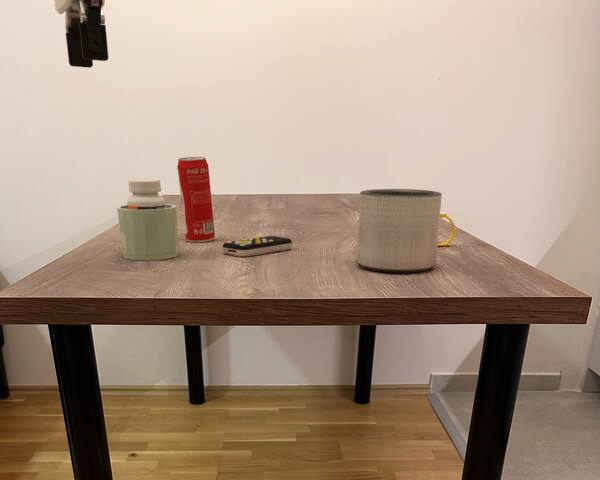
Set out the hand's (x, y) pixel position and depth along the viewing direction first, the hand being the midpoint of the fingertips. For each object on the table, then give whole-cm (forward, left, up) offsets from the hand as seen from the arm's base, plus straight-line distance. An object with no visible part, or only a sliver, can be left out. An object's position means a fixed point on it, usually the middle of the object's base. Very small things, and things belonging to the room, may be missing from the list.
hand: (88, 63), depth 87 cm
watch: (+57, -17, -28) cm, 66 cm away
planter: (+36, -26, -28) cm, 53 cm away
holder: (+10, +7, -28) cm, 30 cm away
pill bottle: (+10, +7, -27) cm, 30 cm away
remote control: (+27, -1, -28) cm, 39 cm away
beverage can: (+25, +16, -28) cm, 41 cm away
